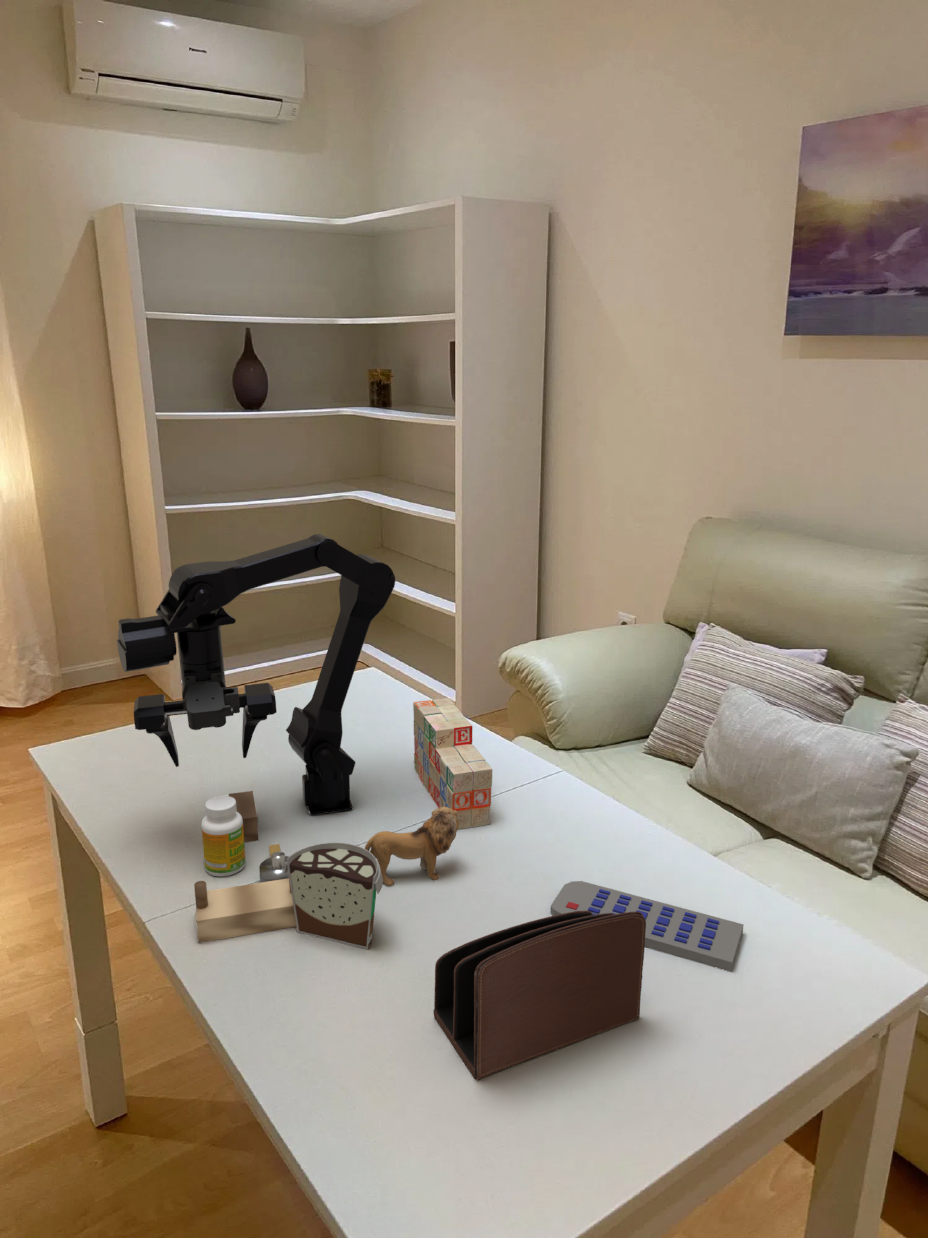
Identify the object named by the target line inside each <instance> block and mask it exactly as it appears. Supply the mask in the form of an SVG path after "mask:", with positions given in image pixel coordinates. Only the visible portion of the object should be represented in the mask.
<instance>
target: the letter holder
mask: <svg viewBox="0 0 928 1238" xmlns="http://www.w3.org/2000/svg"><path fill="white" fill-rule="evenodd" d="M645 932H646V920H645V918H644V916H643V914H642V913H641V912H626V913H620V914H613V913H603V914H597V915H593V913H592V912H590V911H574V912H569V913H564V914H559V915H555V916H552V915H551V916H547V917H543V918H539V919H535V920H530V921H527V922H524V923H521V924H517V925H514V926H510V927H507V928H505V929H501V930H498V931H496V932H492V933H489V934H487V935H484V936H481V937H478V938H477V939H474V940H471V941H468V942H466V943H464V944H461V945H459V946H457V947H455V948H453V949H450V950H449V951H447V952H446V953H443V954H442V955H441V956H440V957H439V958H438V959H437V960H436V962H435V967H434V1000H433V1001H434V1004H433V1005H434V1006H433V1017H434V1019H435V1020H436V1022H437V1023H438V1025H439V1026H440V1028H441V1029H442V1031H443V1032H444V1034H445V1035H446V1037H447V1038H448V1040H449V1042H450V1043H451V1045H452V1047H453V1048H454V1050H455V1051H456V1052H457V1054H458V1056H459V1057H460V1058H461V1060H462V1062H463V1063H464V1065H465V1066H466V1068H467V1069H468V1071H469V1072H470V1074H471V1075H472V1076H473V1078H474V1079H475V1080H476V1081H479V1080H480V1079H484V1078H486V1077H487V1076H490V1075H492V1074H495V1073H497V1072H500V1071H503V1070H506V1069H508V1068H511V1067H513V1066H516V1065H518V1064H521V1063H524V1062H528V1061H529V1060H532V1059H535V1058H538V1057H540V1056H543V1055H546V1054H549V1053H551V1052H554V1051H557V1050H560V1049H563V1048H565V1047H567V1046H570V1045H573V1044H575V1043H578V1042H582V1041H583V1040H586V1039H589V1038H591V1037H592V1038H593V1036H597V1035H599V1034H601V1033H604V1032H607V1031H609V1030H612V1029H613V1030H614V1029H615V1028H618V1027H620V1026H623V1025H626V1024H629V1023H631V1022H634V1021H637V1020H639V1019H640V1015H641V996H642V986H643V985H642V984H643V977H644V976H643V970H644V958H645V948H646V947H645Z"/></svg>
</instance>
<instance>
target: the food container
mask: <svg viewBox="0 0 928 1238" xmlns="http://www.w3.org/2000/svg"><path fill="white" fill-rule="evenodd" d="M287 871H288V874H289V880H290V887H291V893H292V900H293V906H294V913H295V919H296V931H297V934H301V935H305V936H309V937H314V938H318V939H321V940H326V941H331V942H333V943H339V944H343V945H347V946H352V947H356V948H360V949H363V950H369V949H370V946H371V945H372V942H373V941H372V940H373V930H374V929H373V928H374V920H375V910H376V898H377V895H378V894H380V892H381V891H382V888H383V884H384V882H383V878H382V874H381V870H380V866H379V863H378V861H377V859H376V858H375V857H374V856H373V854H372V853H370V850H369V851H368V850H366V849H365V847H362V846H358V845H355V844H351V843H346V842H345V843H344V842H325V843H323V842H322V843H318V844H313V845H308V846H306V847H303V848H301V849H299V850H297V851H295V852H294V853H292V854H291V855H290V856H289V857H288V858H287V862H286V863H285V867H284V873H286V872H287Z"/></svg>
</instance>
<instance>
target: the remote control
mask: <svg viewBox="0 0 928 1238" xmlns="http://www.w3.org/2000/svg"><path fill="white" fill-rule="evenodd" d="M574 911H590V912H592V913H593V915H597V914H603V913H613V914H620V913H626V912H641V913H642V914H643V916H644V918H645V920H646V932H645V948H646V949H651V950H653V951H657V952H660V953H664V954H667V955H670V956H674V957H678V958H681V959H685V960H689V961H691V962H692V961H693V962H694V963H699V964H702V965H705V966H709V967H712V968H715V967H717V968H716V969H719V970H722V969H724V970H723V971H726V970H727V972H730V973H731V972H732V971H731V970H733V966H734V963H735V961H734V960H736V957H737V954H736V953H738V949H739V946H740V944H739V943H741V940H742V937H743V934H742V933H743V932H744V924H743V923H740V922H735V921H732V920H728V919H725V918H720V917H719V916H718V917H717V916H713V915H710V914H708V913H707V914H706V913H702V912H699V911H695V910H691V909H687V908H683V907H681V906H680V907H679V906H676V905H673V904H668V903H665V902H661V901H658V900H653V899H650V898H648V897H647V898H646V897H643V896H639V895H636V894H631V893H628V892H624V891H621V890H616V889H615V888H614V889H613V888H609V887H605V886H601V885H597V884H595V883H591V882H587V881H583V880H579V881H578V880H577V881H576V880H575V881H570V882H568V883H565V884H564V885H563V886H562V887H561V889H560V890H559V892H558V894H557V896H556V897H555V899H554V900H553V901H552V902H551V905H550V914H551V916H555V915H559V914H564V913H569V912H574ZM741 936H742V937H741Z"/></svg>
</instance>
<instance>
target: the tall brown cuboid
mask: <svg viewBox="0 0 928 1238" xmlns="http://www.w3.org/2000/svg"><path fill="white" fill-rule="evenodd" d="M228 796H230V797H233V798H234V799H235V800H236V809H237V812H238V813H239V814H240V815H241V816H242V819H243V831H244V844H245V843H251V842H259V841H260V839H259V827H258V826H259V823H258V822H259V821H258V814H257V807H256V802H255V796H254V790H248V791H240V792H233V793H228Z"/></svg>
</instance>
